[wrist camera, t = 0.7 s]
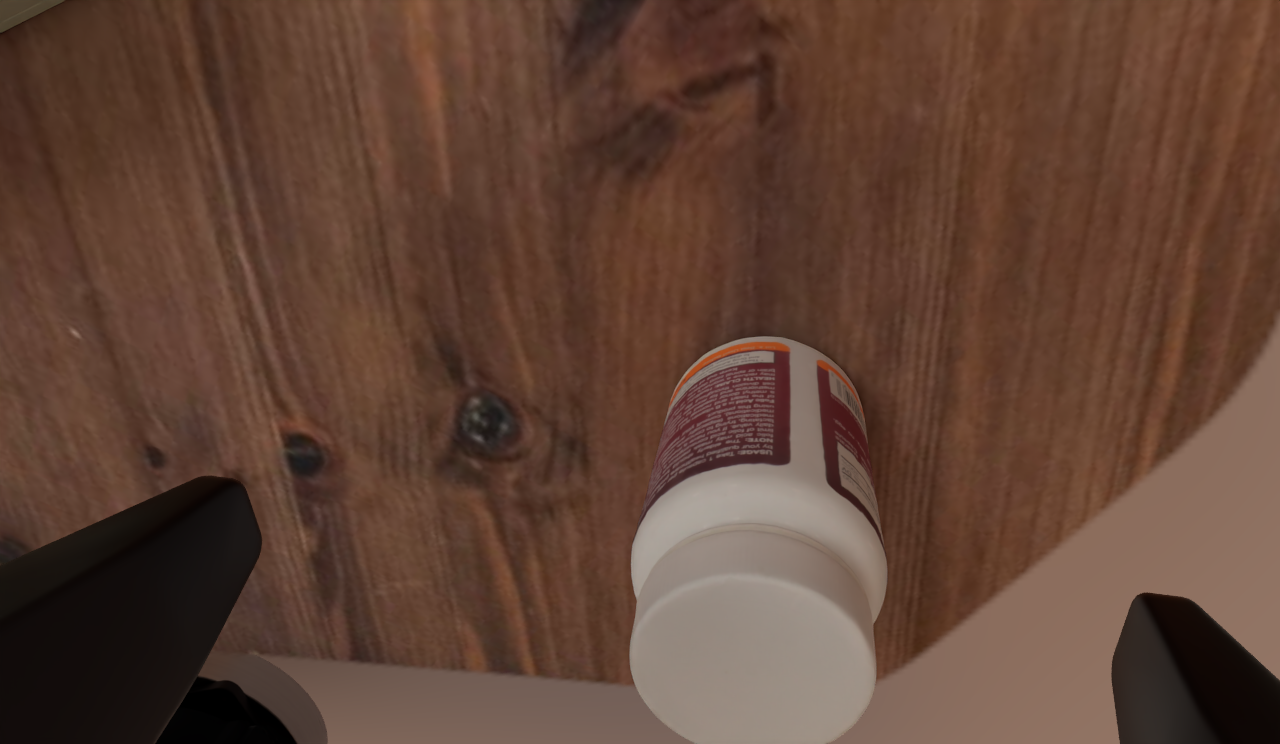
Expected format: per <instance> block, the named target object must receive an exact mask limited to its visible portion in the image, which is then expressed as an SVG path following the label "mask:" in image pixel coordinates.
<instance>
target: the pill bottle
mask: <svg viewBox="0 0 1280 744" xmlns="http://www.w3.org/2000/svg"><path fill="white" fill-rule="evenodd" d="M631 575H632V582H633V588H634V593H635V596H636V599H637V605H636V615H635V621H634V626H633V631H632V636H631V641H630V668H631V673H632V677H633V680H634V683H635V686H636V688H637V690H638V693H639V694H640V696H641V698H642V699H643V701H644V702H645V704H646V705H647V706H648V707H649V709H650V710H651V711H652V712H653V714H654V715H655V716H656V717H657V718H658V719H659V720H660V721H662V722H663V723H664V724H665V725H666V726H668V727H669V728H670V729H671V730H673V731H674V732H676V733H677V734H679V735H681V736H682V737H684V738H686V739H687V740H689V741H691V742H693V743H696V744H828V743H830V742H832V741H834V740H835V739H837V738H839V737H840V736H842V735H843V734H844V733H845V732H847V731H848V730H850V729H851V727H853V726H854V725H855V723H856V722H857V721H858V720H859V719H860V718H861V716H862V715H863V714H864V712H865V711H866V709H867V707H868V705H869V703H870V701H871V698H872V696H873V692H874V688H875V683H876V654H875V643H874V633H873V624H874V622H875V621H876V619H877V617H878V615H879V612H880V610H881V607H882V604H883V601H884V597H885V593H886V586H887V582H888V569H887V558H886V552H885V548H884V541H883V536H882V531H881V525H880V518H879V512H878V504H877V500H876V493H875V489H874V483H873V476H872V466H871V461H870V456H869V449H868V440H867V433H866V425H865V419H864V414H863V409H862V405H861V402H860V399H859V396H858V393H857V391H856V389H855V387H854V385H853V384H852V382H851V381H850V379H849V378H848V376H847V375H846V374H845V373H844V371H843V370H842V369H841V368H840V367H839V366H838V365H837V364H835V363H834V362H833V361H832V360H831V359H829V358H828V357H827V356H825V355H824V354H822V353H821V352H819V351H817V350H815V349H813V348H811V347H809V346H807V345H804V344H802V343H800V342H797V341H793V340H790V339H786V338H783V337H769V336H762V337H750V338H743V339H739V340H735V341H732V342H729V343H727V344H724V345H722V346H719V347H717V348H715V349H713V350H711V351H709V352H708V353H706V354H705V355H703V356H702V357H701V358H700V359H699V360H698V361H696V362H695V363H694V364H693V365H692V366H691V367H690V368H689V369H688V370H687V371H686V373H685V374H684V375H683V377H682V378H681V380H680V381H679V383H678V385H677V386H676V388H675V390H674V393H673V395H672V398H671V401H670V405H669V408H668V413H667V417H666V420H665V423H664V427H663V431H662V435H661V439H660V443H659V448H658V451H657V455H656V459H655V462H654V465H653V469H652V474H651V477H650V481H649V486H648V491H647V494H646V498H645V502H644V505H643V509H642V513H641V516H640V519H639V522H638V527H637V531H636V534H635V536H634V539H633V545H632V554H631Z"/></svg>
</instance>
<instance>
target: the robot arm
mask: <svg viewBox="0 0 1280 744" xmlns="http://www.w3.org/2000/svg"><path fill="white" fill-rule="evenodd" d="M261 546H262V536H261V532H260V529H259V526H258V523H257V520H256V517H255V514H254V511H253V508H252V505H251V502H250V499H249V496H248V494H247V491H246V489H245V487H244V485H243V484H242V483H241V482H240V481H238V480H236V479H233V478H225V477H217V476H201V477H198V478H195V479H193V480H191V481H189V482H186V483H184V484H182V485H180V486H177V487H175V488H173V489H171V490H168V491H166V492H164V493H162V494H160V495H157V496H155V497H153V498H151V499H148V500H146V501H144V502H142V503H139V504H137V505H135V506H133V507H130V508H128V509H126V510H124V511H121V512H119V513H117V514H115V515H113V516H110V517H108V518H106V519H104V520H101V521H99V522H97V523H95V524H92V525H90V526H88V527H86V528H83V529H81V530H79V531H77V532H74V533H72V534H70V535H68V536H65V537H63V538H61V539H59V540H57V541H54V542H52V543H50V544H48V545H45V546H43V547H41V548H39V549H36V550H34V551H32V552H30V553H27V554H25V555H23V556H21V557H18V558H16V559H14V560H12V561H10V562H7V563H5V564H3V565H1V566H0V744H280V743H279V741H278V740H277V738H276V737H275V736H274V734H273V733H272V731H271V730H270V729H269V727H268V726H267V724H266V723H265V721H264V720H263V719H262V717H261V716H260V714H259V713H258V712H257V710H256V709H255V707H254V706H253V704H252V703H251V702H250V700H249V699H248V697H247V696H246V694H245V693H244V692H243V690H242V689H241V688H240V686H239V685H238V684H236V683H234V682H232V681H229V680H222V681H217V682H211V683H206V684H200V685H195V686H192V684H193V683H194V681H195V679H196V677H197V676H198V674H199V672H200V670H201V668H202V666H203V665H204V663H205V661H206V659H207V657H208V655H209V653H210V651H211V650H212V648H213V646H214V644H215V642H216V640H217V638H218V636H219V634H220V632H221V630H222V628H223V626H224V624H225V622H226V620H227V618H228V616H229V615H230V613H231V611H232V609H233V607H234V605H235V603H236V601H237V599H238V597H239V595H240V593H241V591H242V589H243V587H244V585H245V583H246V581H247V580H248V578H249V576H250V574H251V572H252V570H253V568H254V566H255V564H256V562H257V560H258V558H259V555H260V551H261ZM1112 686H1113V694H1114V702H1115V709H1116V716H1117V724H1118V731H1119V740H1120V744H1280V680H1279V679H1277V678H1276V677H1275V676H1274V675H1273V674H1272V673H1271V672H1270V671H1269V670H1268V669H1266V668H1265V667H1264V666H1263V665H1262V664H1261V663H1260V662H1259V661H1258V660H1257V659H1256V658H1255V657H1254V656H1253V655H1251V654H1250V653H1249V652H1248V651H1247V650H1246V649H1245V648H1244V647H1242V645H1241V644H1240V643H1239V642H1237V641H1236V640H1235V639H1234V638H1233V637H1232V636H1231V635H1230V634H1229V633H1228V632H1227V631H1226V630H1224V629H1223V628H1222V627H1221V626H1220V625H1219V624H1218V623H1217V622H1216V621H1215V620H1214V619H1213V618H1211V617H1210V616H1209V615H1208V614H1207V613H1206V612H1205V611H1204V610H1203V609H1202V608H1200V607H1199V606H1198V605H1197V604H1196V603H1195V602H1193V601H1191V600H1190V599H1187V598H1184V597H1178V596H1170V595H1162V594H1154V593H1142V594H1139V595H1137V596H1136V598H1135V599H1134V600H1133V601H1132V604H1131V607H1130V609H1129V612H1128V615H1127V617H1126V620H1125V623H1124V626H1123V629H1122V632H1121V635H1120V638H1119V641H1118V644H1117V647H1116V649H1115V652H1114V656H1113V661H1112Z"/></svg>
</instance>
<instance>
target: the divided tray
mask: <svg viewBox="0 0 1280 744" xmlns="http://www.w3.org/2000/svg"><path fill="white" fill-rule="evenodd" d="M63 1H65V0H0V33H2V32H4V31H6V30H8V29H10V28H12V27H14V26H16V25H18V24H20V23H22V22H24V21H26V20H28V19H30V18H32V17H34V16H36V15H38V14H40V13H42V12H43V11H45V10H47V9H49V8H51V7H53V6H55V5H57V4H59V3H61V2H63Z"/></svg>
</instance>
